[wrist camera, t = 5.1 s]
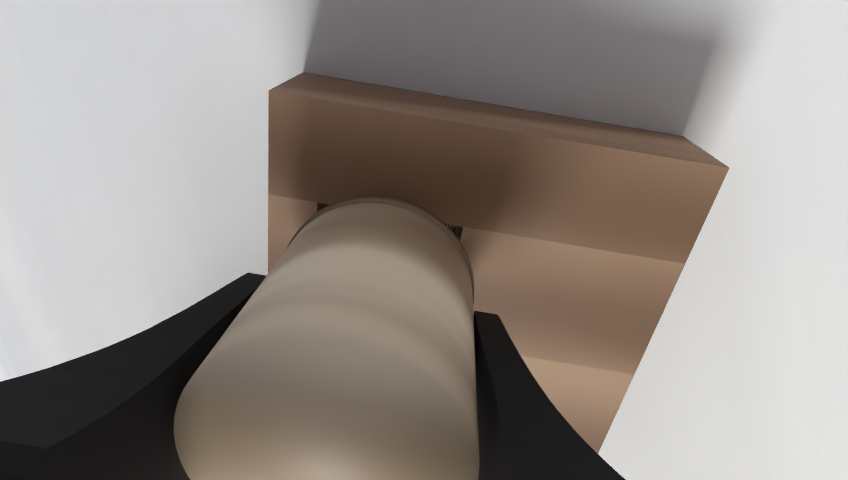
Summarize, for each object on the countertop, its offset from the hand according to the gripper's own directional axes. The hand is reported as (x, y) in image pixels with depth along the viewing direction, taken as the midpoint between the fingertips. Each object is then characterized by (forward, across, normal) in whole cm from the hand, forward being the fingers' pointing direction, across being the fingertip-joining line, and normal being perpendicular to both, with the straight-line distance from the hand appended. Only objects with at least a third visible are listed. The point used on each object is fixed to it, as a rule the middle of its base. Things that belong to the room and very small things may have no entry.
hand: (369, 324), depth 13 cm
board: (+5, -2, +2) cm, 6 cm away
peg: (+4, 0, 0) cm, 4 cm away
